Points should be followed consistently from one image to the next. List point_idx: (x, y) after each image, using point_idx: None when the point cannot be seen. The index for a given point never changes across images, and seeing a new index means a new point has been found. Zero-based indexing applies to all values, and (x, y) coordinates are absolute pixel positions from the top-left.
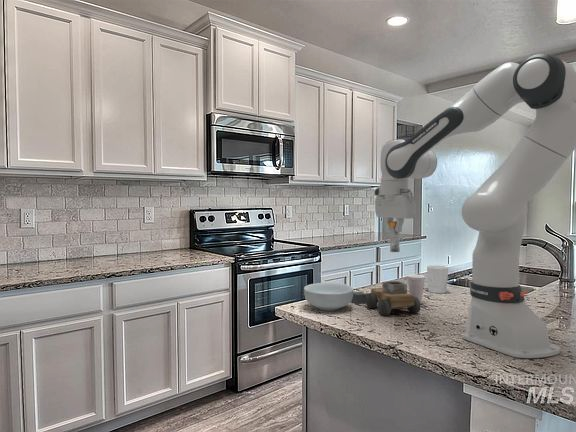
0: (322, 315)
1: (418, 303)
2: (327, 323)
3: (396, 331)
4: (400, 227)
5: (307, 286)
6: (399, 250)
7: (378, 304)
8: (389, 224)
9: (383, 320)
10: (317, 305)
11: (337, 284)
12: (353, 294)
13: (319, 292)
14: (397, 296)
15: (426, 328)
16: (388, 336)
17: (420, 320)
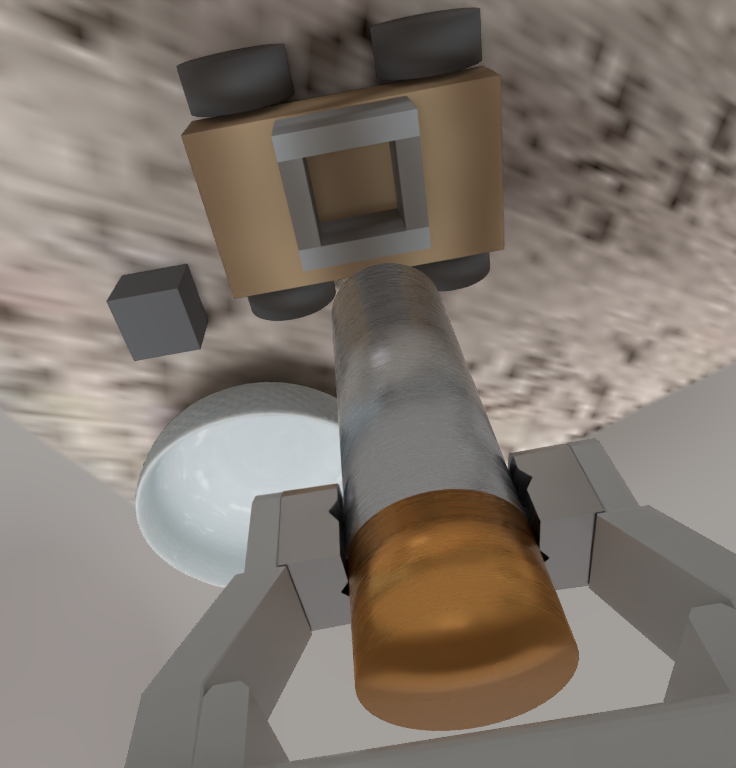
0: None
1: (480, 26)
2: None
3: (678, 260)
4: (625, 513)
5: (214, 578)
6: (415, 274)
7: None
8: (288, 648)
9: (519, 267)
10: None
11: (156, 464)
12: (162, 352)
13: (168, 504)
14: (480, 201)
15: (706, 101)
16: (713, 309)
17: (579, 69)
